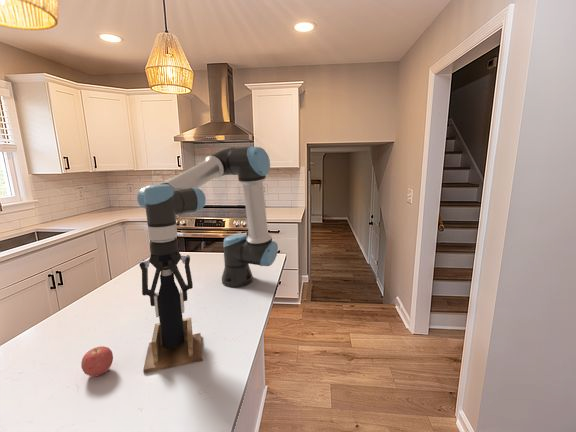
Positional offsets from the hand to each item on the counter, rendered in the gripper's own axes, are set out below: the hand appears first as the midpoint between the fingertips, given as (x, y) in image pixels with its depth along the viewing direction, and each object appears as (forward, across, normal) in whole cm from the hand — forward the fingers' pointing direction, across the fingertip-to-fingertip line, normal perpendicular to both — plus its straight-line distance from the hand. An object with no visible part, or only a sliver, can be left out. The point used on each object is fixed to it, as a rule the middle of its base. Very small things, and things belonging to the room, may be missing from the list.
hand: (170, 312), depth 87 cm
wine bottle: (+10, 0, 0) cm, 10 cm away
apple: (+14, +20, +1) cm, 25 cm away
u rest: (+14, 0, -1) cm, 14 cm away
